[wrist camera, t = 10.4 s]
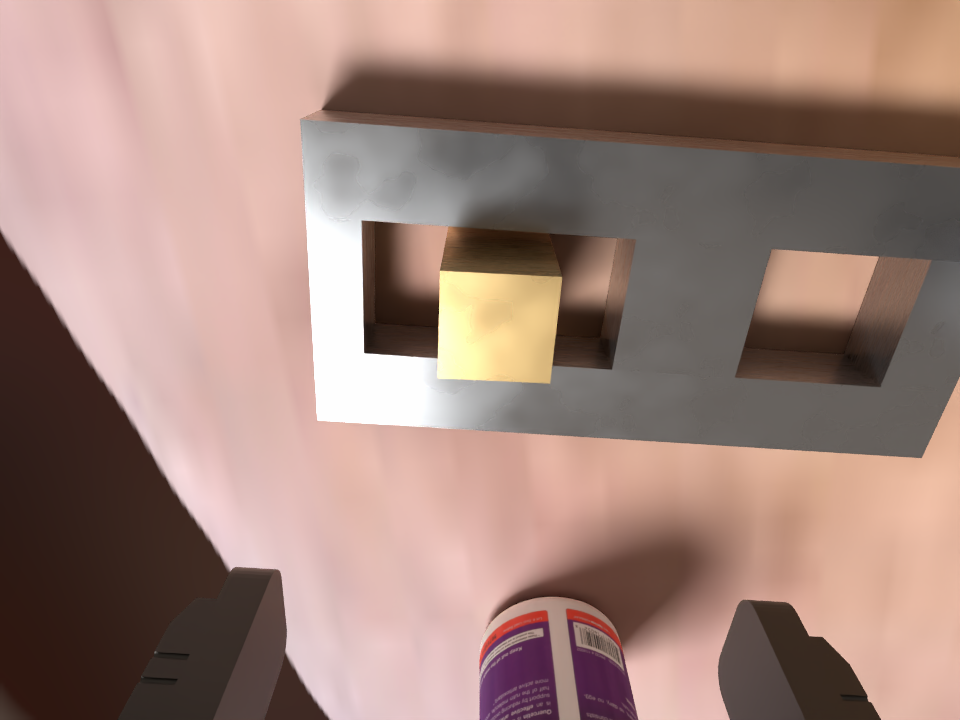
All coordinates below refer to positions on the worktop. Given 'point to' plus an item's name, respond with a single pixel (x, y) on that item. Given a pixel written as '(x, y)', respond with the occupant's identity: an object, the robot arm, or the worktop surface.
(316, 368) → the silver slotted board
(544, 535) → the worktop surface
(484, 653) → the pill bottle
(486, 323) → the block
